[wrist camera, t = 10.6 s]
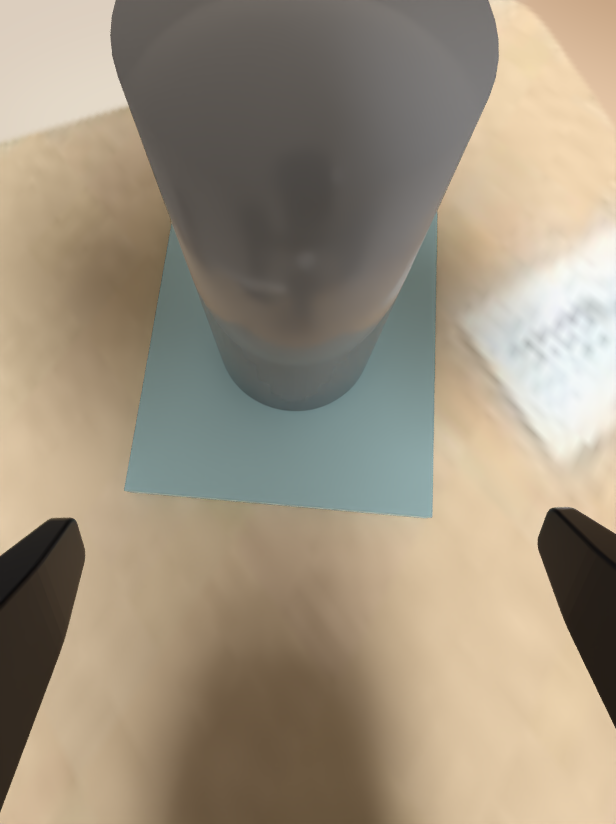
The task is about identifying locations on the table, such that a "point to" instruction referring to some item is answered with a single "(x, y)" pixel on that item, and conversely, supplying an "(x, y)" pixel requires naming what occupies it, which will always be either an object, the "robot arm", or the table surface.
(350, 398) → the slate board
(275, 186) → the grey domed cylinder
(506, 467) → the table surface
